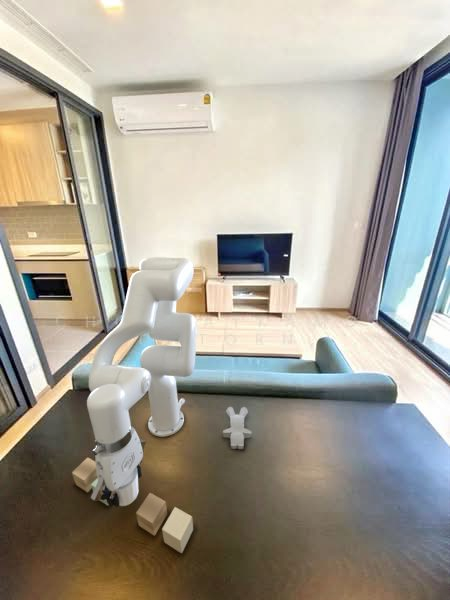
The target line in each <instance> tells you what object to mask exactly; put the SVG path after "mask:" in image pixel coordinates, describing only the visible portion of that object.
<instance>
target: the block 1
mask: <svg viewBox="0 0 450 600" xmlns="http://www.w3.org/2000/svg"><path fill="white" fill-rule="evenodd" d="M71 474H72V478H73V480H74V484H75V486H77V487H78V488H80V489H82V490H83V491H85V492H86V493H89V492H90V491H91V490H92V486H91V485H92V483H93V482H94V481H95V480H96V479H97V478H98V477H97V472H96V463H95V460H93V459H92V458H90V457H86V458H85V459H84V460H83V461H82V462H81V463H80V464H79V465H78V466H77V467H76V468H75V469H74V470H72V471H71Z"/></svg>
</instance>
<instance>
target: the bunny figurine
mask: <svg viewBox="0 0 450 600" xmlns="http://www.w3.org/2000/svg"><path fill="white" fill-rule="evenodd" d="M248 413H249V411H248V408H247V407H245V406H243V407H241V408H240V411H239V413H237V414H236V413H235V410H234V408H233V407H232V406H228V407H227V409H226V414H227V415H228V417H229V419H230V422H229V424H230V425H229V428H225V429H223V430H222V436H223V438H228V439H230V449H232V450H236V449H238V450H244V446H245V444H244V443H245V439H249V438H252V430H249V429H248V428H246V427H245V418H246V416H247V414H248Z"/></svg>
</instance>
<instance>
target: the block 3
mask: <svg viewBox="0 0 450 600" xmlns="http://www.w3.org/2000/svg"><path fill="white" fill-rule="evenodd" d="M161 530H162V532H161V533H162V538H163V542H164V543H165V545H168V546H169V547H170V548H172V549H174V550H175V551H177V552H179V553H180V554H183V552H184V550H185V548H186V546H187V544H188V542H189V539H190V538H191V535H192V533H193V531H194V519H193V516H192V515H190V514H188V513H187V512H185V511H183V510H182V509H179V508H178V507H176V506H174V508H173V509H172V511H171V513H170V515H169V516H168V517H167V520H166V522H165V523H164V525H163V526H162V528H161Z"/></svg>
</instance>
